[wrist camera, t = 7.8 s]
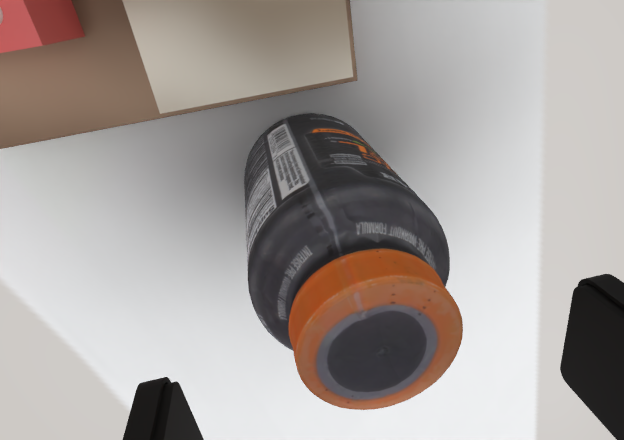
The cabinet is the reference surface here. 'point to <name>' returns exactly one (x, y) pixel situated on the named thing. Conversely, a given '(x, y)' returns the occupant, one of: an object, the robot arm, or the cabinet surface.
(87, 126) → the game board
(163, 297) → the cabinet surface
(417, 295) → the pill bottle
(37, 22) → the red die
